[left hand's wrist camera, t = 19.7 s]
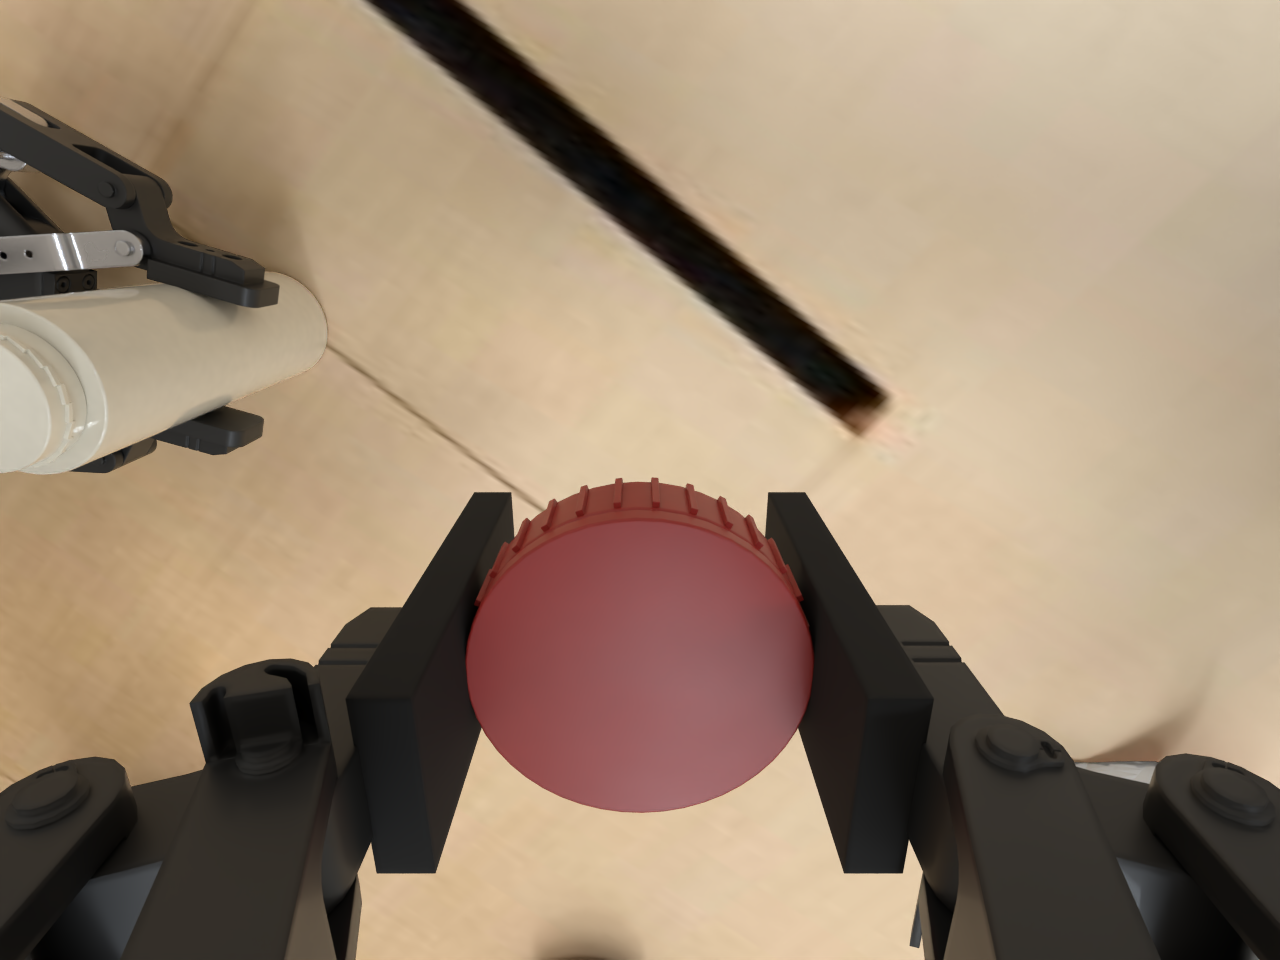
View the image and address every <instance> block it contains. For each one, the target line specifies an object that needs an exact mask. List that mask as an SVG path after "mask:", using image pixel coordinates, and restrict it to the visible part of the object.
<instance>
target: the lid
mask: <svg viewBox="0 0 1280 960" xmlns="http://www.w3.org/2000/svg"><path fill="white" fill-rule="evenodd" d="M803 600H804V599H803V597H802V594H801V592H800V590H799V588H798V585H797V583H796V581H795V579H794V576H793V574H792V572H791V570H790V567H789V565H788V564H787V565H785V564H784V562H783V559H782V557H781V555H780V552H779V550H778V548H777V545H776V543H775V541H774V540H773V539H772V538H770V539H769V540H767V539H766V538H765V537H764V536H763V535H762V533H761V532H760V531H759V530H758V529H757V527H756V524H755V522H754V519H753V518H752V517H751V516H750V515H748V516H747V517H746V518H744V517H743V516H742V515H741V514H740V513H738V512H737V511H735V510H734V509H732V508H730V507H729V506H728V505H727V502H726V499H725V498H723V497H721V496H720V497H719V498H718V500H716V499H714V498H712V497H709V496H707V495H705V494H703V493H700V492H697V491H694V486H693V485H691V484H687V485H686V488H684V487H680V486H674V485H669V484H663V483H659V481H658V478H651V482H629V483H623V480H622V478H618V479H616V480H615V484H610V485H606V486H601V487H596V488H592V489H588V486H587V485H585V486H582V487H581V489H580V493H577V494H574V495H572V496H570V497H568V498H566V499H564V500H562V501H560V502H558V503H557V501H556V500H555V499H553V500H551V501H549V504H548V507H547V509H546V510H545V511H543V512H542V513H540V514H539V515H537V516H536V517H535V518H534V519H533V520H532V521H530V520H529V519H528V518H526V519H525V520H524V521H523V522H522V524H521V527H520V529H519V532H518V534H517V535H516V537H515V538H514V539H513V540H512V541H511V542H510V544H508V543H506V542H504V544H503V545H502V547H501V549H500V551H499V553H498V556H497V558H496V560H495V563H494V565H493V567H492V569H489V571H488V573H487V576H486V578H485V580H484V582H483V585H482V587H481V589H480V591H479V594H478V596H477V598H476V601H475V603H474V605H475V606H478V607H479V608H478V610H477V612H476V615H475V617H474V619H473V622H472V625H471V629H470V632H469V636H468V640H467V647H466V656H465V663H466V673H467V683H468V692H469V698H470V701H471V704H472V707H473V709H474V712H475V715H476V718H477V720H478V721H479V723H480V725H481V727H482V729H483V731H484V733H485V734H486V736H487V737H488V739H489V740H490V741H491V743H492V744H493V745H494V747H495V748H496V750H497V751H498V752H499V753H500V754H501V755H502V756H503V757H504V758H505V759H506V760H507V761H508V762H509V763H510V764H511V765H512V766H513V767H514V768H515V769H517V770H518V771H519V772H520V773H522V774H523V775H524V776H525V777H527V778H528V779H530V780H531V781H533V782H534V783H536V784H538V785H539V786H541V787H542V788H544V789H546V790H548V791H550V792H552V793H554V794H556V795H558V796H560V797H563V798H565V799H568V800H571V801H574V802H577V803H579V804H583V805H587V806H591V807H595V808H599V809H605V810H612V811H619V812H638V813H645V812H661V811H668V810H674V809H680V808H685V807H689V806H693V805H696V804H700V803H704V802H706V801H709V800H711V799H714V798H716V797H719V796H722V795H724V794H726V793H728V792H730V791H731V790H733V789H735V788H737V787H739V786H741V785H742V784H744V783H745V782H747V781H748V780H750V779H751V778H753V777H754V776H756V775H757V774H758V773H760V772H761V771H762V770H763V769H764V768H765V767H766V766H768V765H769V764H770V763H771V762H772V761H773V760H774V759H775V758H776V757H777V756H778V755H779V753H780V752H781V751H782V750H783V749H784V748H785V747H786V745H787V744H788V742H789V741H790V739H791V738H792V736H793V735H794V733H795V732H796V731H797V728H798V726H799V724H800V722H801V720H802V718H803V716H804V714H805V712H806V709H807V705H808V702H809V699H810V696H811V688H812V679H813V669H814V650H813V643H812V636H811V633H810V630H809V623H808V621H807V619H806V616H805V614H804V612H803V609H802V607H801V605H800V602H801V601H803Z"/></svg>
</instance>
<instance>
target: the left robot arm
mask: <svg viewBox="0 0 1280 960" xmlns="http://www.w3.org/2000/svg"><path fill="white" fill-rule="evenodd" d="M765 538H766V539H767V540H769V539H770V538H772V539H773V540H774V541H775V543H776V545H777V548H778V550H779V552H780V555H781V557H782V559H783V562H784V564H785V565H787V564H788V565H789V567H790V570H791V572H792V574H793V576H794V579H795V581H796V583H797V585H798V588H799V590H800V592H801V594H802V597H803V599H804V600H803V601H801V602H800V605H801V607H802V609H803V612H804V614H805V616H806V619H807V621H808V623H809V630H810V633H811V636H812V643H813V650H814V669H813V679H812V688H811V696H810V699H809V702H808V705H807V709H806V712H805V714H804V716H803V718H802V720H801V722H800V724H799V726H798V729H799V732H800V735H801V739H802V742H803V745H804V748H805V751H806V754H807V758H808V761H809V764H810V767H811V770H812V773H813V777H814V780H815V783H816V786H817V789H818V792H819V795H820V799H821V802H822V805H823V808H824V811H825V814H826V818H827V821H828V824H829V827H830V830H831V833H832V837H833V840H834V843H835V846H836V849H837V852H838V856H839V859H840V862H841V865H842V868H843V871H844V873H903V869H904V864H905V858H906V853H907V847H908V841H909V840H910V843H911V845H912V847H913V850H914V852H915V854H916V856H917V859H918V861H919V863H920V865H921V868H922V870H923V874H922V879H921V885H920V890H919V895H918V900H917V905H916V910H915V916H914V921H913V926H912V932H911V939H910V946H913V947H917V948H919V946H920V941H921V936H922V939H923V948H924V956H925V960H1280V789H1279V788H1277V787H1276V786H1275V785H1273V784H1272V783H1270V782H1269V781H1267V780H1265V779H1263V778H1261V777H1259V776H1257V775H1255V774H1253V773H1251V772H1249V771H1247V770H1246V769H1244V768H1242V767H1240V766H1237V765H1234V764H1232V763H1229V762H1228V763H1227V762H1225V761H1222V760H1218V759H1215V758H1212V757H1206V756H1199V755H1192V754H1179V755H1172V756H1166V757H1165V758H1164V759H1162V760H1161V761H1160V762H1159V763H1158V764H1156V766H1155V769H1154V772H1153V775H1152V778H1151V781H1150V784H1148V783H1143V782H1139V781H1134V780H1130V779H1125V778H1121V777H1116V776H1112V775H1107V774H1103V773H1098V772H1094V771H1090V770H1087V769H1083V768H1080V767H1076V765H1075V763H1074V761H1073V760H1072V758H1071V757H1070V756H1069V754H1068V753H1067V751H1066V750H1065V749H1064V747H1063V746H1062V745H1061V744H1059V743H1058V742H1057V741H1055V740H1054V739H1053V738H1052V737H1050V736H1049V735H1048V734H1046V733H1045V732H1044V731H1042V730H1040V729H1038V728H1035V727H1033V726H1031V725H1029V724H1027V723H1025V722H1023V721H1020V720H1017V719H1013V718H1009V717H1006V716H1004V715H1003V713H1002V712H1001V711H1000V709H999V708H998V707H997V705H996V704H995V703H994V701H993V700H992V699H991V697H990V696H989V695H988V693H987V692H986V691H985V689H984V688H983V687H982V685H981V684H980V683H979V681H978V680H977V679H976V677H975V676H974V675H973V673H972V672H971V671H970V669H969V668H968V667H967V665H966V664H965V663H964V662H961V657H960V656H959V655H958V653H957V652H956V650H955V649H954V648H953V646H949V641H948V640H947V638H946V637H945V636H944V634H943V633H942V632H941V630H940V629H939V628H938V626H937V625H936V624H935V622H933V621H932V620H930V619H929V618H927V617H926V616H924V615H923V614H921V613H920V612H918V611H917V610H915V609H914V608H913V607H911V606H910V605H875V603H874V602H873V600H872V598H871V597H870V595H869V594H868V592H867V590H866V589H865V587H864V586H863V584H862V582H861V581H860V579H859V578H858V576H857V574H856V573H855V571H854V570H853V568H852V566H851V565H850V563H849V562H848V560H847V559H846V557H845V555H844V554H843V552H842V551H841V549H840V547H839V546H838V544H837V543H836V541H835V539H834V538H833V536H832V535H831V533H830V531H829V530H828V528H827V527H826V525H825V523H824V522H823V520H822V519H821V517H820V515H819V514H818V512H817V511H816V509H815V507H814V506H813V504H812V503H811V501H810V499H809V498H808V496H807V495H806V493H805V492H768V504H767V519H766V533H765ZM513 539H514V525H513V511H512V496H511V492H474V494H473V495H472V497H471V499H470V500H469V502H468V503H467V505H466V507H465V508H464V510H463V511H462V513H461V515H460V516H459V518H458V519H457V521H456V523H455V524H454V526H453V527H452V529H451V531H450V532H449V534H448V535H447V537H446V539H445V540H444V542H443V543H442V545H441V547H440V548H439V550H438V551H437V553H436V555H435V556H434V558H433V559H432V561H431V563H430V564H429V566H428V567H427V569H426V571H425V572H424V574H423V575H422V577H421V579H420V580H419V582H418V583H417V585H416V587H415V588H414V590H413V591H412V593H411V595H410V596H409V598H408V599H407V601H406V602H405V604H404V606H403V607H371V608H369V609H368V610H366V611H365V612H363V613H362V614H360V615H359V616H357V617H356V618H354V619H353V620H351V621H350V622H348V623H347V624H346V625H345V626H344V627H343V629H342V630H341V631H340V633H339V634H338V635H337V637H336V638H335V639H334V641H333V642H332V643H331V648H328V649H327V650H326V651H325V653H324V654H323V656H322V657H321V658H320V660H319V664H318V665H315V666H314V667H313V666H312V665H310V664H309V663H308V662H304V661H299V660H295V659H269V660H265V661H261V662H256V663H252V664H248V665H244V666H242V667H240V668H237V669H235V670H232V671H230V672H228V673H225V674H223V675H221V676H220V677H218V678H217V679H215V680H214V681H212V682H211V683H209V684H208V685H206V686H205V687H203V688H202V689H201V690H200V691H199V692H198V694H197V695H196V696H195V697H194V698H193V700H192V701H191V702H190V707H191V711H192V714H193V718H194V722H195V725H196V729H197V732H198V736H199V740H200V743H201V747H202V751H203V754H204V758H205V761H206V764H205V766H204V769H203V770H200V771H197V772H193V773H190V774H186V775H182V776H177V777H173V778H168V779H164V780H159V781H155V782H150V783H146V784H141V785H137V786H132V787H131V786H130V783H129V780H128V777H127V774H126V771H125V768H124V767H123V766H121V765H120V764H119V763H118V762H117V761H115V760H114V759H107V758H100V757H90V758H82V759H75V760H69V761H66V762H63V763H59V764H56V765H54V766H50V767H47V768H44V769H42V770H39V771H37V772H35V773H34V774H32V775H30V776H28V777H26V778H24V779H22V780H20V781H18V782H16V783H14V784H12V785H11V786H9V787H8V788H7V789H5V790H4V791H2V792H1V793H0V960H355V958H356V949H357V941H358V932H359V924H360V915H361V906H362V899H361V891H360V885H359V879H358V874H357V873H358V870H359V868H360V866H361V863H362V861H363V859H364V857H365V854H366V852H367V850H368V847H369V845H370V843H371V844H372V850H373V855H374V861H375V866H376V872H377V873H436V870H437V867H438V864H439V860H440V857H441V854H442V851H443V848H444V845H445V842H446V838H447V835H448V832H449V829H450V826H451V823H452V819H453V816H454V813H455V810H456V807H457V804H458V800H459V797H460V794H461V791H462V788H463V785H464V781H465V778H466V775H467V772H468V769H469V766H470V763H471V759H472V756H473V753H474V750H475V747H476V744H477V740H478V737H479V734H480V731H481V728H482V727H481V725H480V723H479V721H478V720H477V718H476V715H475V712H474V709H473V707H472V704H471V701H470V698H469V692H468V683H467V673H466V663H465V656H466V647H467V640H468V636H469V632H470V629H471V625H472V622H473V619H474V617H475V615H476V612H477V610H478V608H479V607H478V606H475V605H474V603H475V601H476V598H477V596H478V594H479V591H480V589H481V587H482V585H483V582H484V580H485V578H486V576H487V573H488V571H489V569H492V567H493V565H494V563H495V560H496V558H497V556H498V553H499V551H500V549H501V547H502V545H503V544H504V542H506V543H508V544H510V542H511V541H512V540H513Z"/></svg>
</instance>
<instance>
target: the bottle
mask: <svg viewBox="0 0 1280 960" xmlns="http://www.w3.org/2000/svg"><path fill="white" fill-rule="evenodd" d="M264 280H267V281H270V282H274V283H276V284H278V285H280V289H279V297H278V304H276V305H271V306H266V307H261V308H249V307H243V306H239V305H236V304H232V303H229V302H226V301H222V300H219V299H215V298H212V297H209V296H205V295H202V294H198V293H195V292H192V291H188V290H185V289H181V288H179V287H175V286H172V285H168V284H164V283H161V282H160V283H151V284H142V285H133V286H124V287H115V288H106V289H97V290H88V291H79V292H70V293H60V294H51V295H42V296H33V297H24V298H15V299H6V300H0V473H9V472H15V471H21V472H25V473H32V474H58V473H63V472H67V471H70V470H73V469H76V468H78V467H80V466H83V465H85V464H87V463H90V462H92V461H95V460H97V459H99V458H102V457H104V456H106V455H109V454H111V453H114V452H116V451H118V450H121V449H123V448H125V447H128V446H130V445H133V444H135V443H137V442H140V441H142V440H144V439H147V438H149V437H152V436H154V435H156V434H159V433H161V432H164V431H166V430H168V429H171V428H173V427H175V426H178V425H180V424H183V423H185V422H187V421H190V420H192V419H194V418H197V417H199V416H202V415H204V414H206V413H209V412H211V411H213V410H216V409H218V408H221V407H223V406H225V405H228V404H230V403H232V402H235V401H237V400H240V399H242V398H244V397H247V396H249V395H251V394H254V393H256V392H259V391H261V390H263V389H266V388H268V387H271V386H273V385H275V384H278V383H280V382H282V381H285V380H287V379H290V378H292V377H294V376H297V375H299V374H301V373H304V372H306V371H308V370H309V369H311V368H312V367H313V366H314V365H315V364H316V363H317V362H318V361H319V360H320V358H321V357H322V355H323V353H324V350H325V348H326V344H327V337H328V329H327V322H326V318H325V315H324V312H323V310H322V308H321V306H320V304H319V303H318V301H317V300H316V298H315V297H314V295H313V294H312V293H311V292H310V291H309V290H308V289H307V288H306V287H305V286H304V285H302V284H301V283H299V282H298V281H297V280H295V279H293V278H291V277H289V276H287V275H284V274H281V273H277V272H271V271H265V275H264Z"/></svg>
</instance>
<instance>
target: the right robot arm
mask: <svg viewBox="0 0 1280 960" xmlns="http://www.w3.org/2000/svg"><path fill="white" fill-rule="evenodd" d="M12 171H18V172H28V173H40V172H42V173H44V174H46V175H48V176H49V177H51V178H53V179H55V180H57V181H58V182H60V183H62V184H64V185H66V186H68V187H69V188H71V189H73V190H75V191H77V192H78V193H80V194H82V195H84V196H86V197H88V198H89V199H91V200H93V201H95V202H97V203H98V204H100V205H102V206H104V207H106V210H107V213H108V216H109V220H110V223H111V226H112V229H113V231H97V232H80V233H63V232H62V231H61V230H60V229H59V228H58V227H57V225H56V224H55V223H54V222H53V221H52V220H51V219H50V218H49V217H48V216H47V215H46V214H45V213H44V212H43V211H42V210H41V209H40V208H39V207H38V206H37V205H36V204H35V203H34V202H33V201H32V200H31V199H30V198H29V197H28V196H27V195H26V194H25V193H24V192H23V191H22V190H21V189H20V188H19V187H18V186H17V185H16V184H15V183H14V182H13V181H12V180H11V179H10V178H8V175H9V173H10V172H12ZM171 203H172V192H171V189H170V187H169V185H168V184H167V183H166V182H165V181H164V180H163V179H161V178H160V177H158V176H156V175H154V174H153V173H151V172H149V171H147V170H145V169H144V168H142V167H140V166H138V165H137V164H135V163H133V162H131V161H130V160H128V159H126V158H124V157H122V156H121V155H119V154H117V153H115V152H114V151H112V150H110V149H108V148H107V147H105V146H103V145H101V144H99V143H98V142H96V141H94V140H92V139H91V138H89V137H87V136H85V135H84V134H82V133H80V132H78V131H76V130H75V129H73V128H71V127H69V126H68V125H66V124H64V123H62V122H61V121H59V120H57V119H55V118H54V117H52V116H50V115H48V114H46V113H45V112H43V111H41V110H39V109H38V108H36V107H34V106H32V105H31V104H28V103H26V102H21V101H16V100H11V99H7V98H3V97H0V300H6V299H15V298H24V297H33V296H42V295H51V294H60V293H70V292H79V291H88V290H97V271H94V270H91V269H96V268H112V267H129V266H134V267H137V268H141V269H144V270H147V279H151V280H154V281H158V282H161V283H164V284H168V285H172V286H175V287H179V288H181V289H185V290H188V291H192V292H195V293H198V294H202V295H205V296H209V297H212V298H215V299H219V300H222V301H226V302H229V303H232V304H236V305H239V306H243V307H249V308H261V307H266V306H271V305H276V304H278V297H279V289H280V285H278V284H276V283H274V282H270V281H267V280H264V275H265V268H263V267H262V266H261V265H259V264H258V263H257V262H255V261H254V260H252V259H249V258H246V257H243V256H239V255H235V254H233V253H229V252H225V251H223V250H219V249H216V248H213V247H209V246H206V245H203V244H199V243H196V242H193V241H189V240H187V239H185V238H183V237H182V236H180V235H179V234H178V233H177V232H176V231H175V230H174V228H173V226H172V224H171V222H170V219H169V215H168V212H167V208H168V207H169V206H170V205H171ZM263 423H264V419H263V418H262V417H260V416H258V415H254V414H251V413H247V412H244V411H240V410H236V409H233V408H229V407H226V406H223V407H221V408H218V409H216V410H213V411H211V412H209V413H206V414H204V415H202V416H199V417H197V418H194V419H192V420H190V421H187V422H185V423H183V424H180V425H178V426H175V427H173V428H171V429H168V430H166V431H164V432H161V433H159V434H156V435H154V436H152V437H149V438H147V439H144V440H142V441H140V442H137V443H135V444H133V445H130V446H128V447H125V448H123V449H121V450H118V451H116V452H114V453H111V454H109V455H106V456H104V457H102V458H99V459H97V460H95V461H92V462H90V463H87V464H85V465H83V466H80V467H78V468H76V469H73V470H70V471H73V472H92V473H108V472H110V471H112V470H115V469H117V468H119V467H121V466H123V465H126V464H128V463H130V462H132V461H135V460H137V459H139V458H141V457H143V456H145V455H148V454H150V453H152V452H153V451H154V450H155V449H156V446H157V441H156V440H160V441H164V442H167V443H171V444H175V445H178V446H182V447H186V448H189V449H193V450H196V451H197V450H199V451H200V452H204V453H207V454H211V455H220V454H227V453H229V452H231V451H233V450H235V449H237V448H238V447H243V446H245V445H247V444H249V443H251V442H252V441H254V440H256V439H258V438H260V437H261V436H262V432H263Z"/></svg>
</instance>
